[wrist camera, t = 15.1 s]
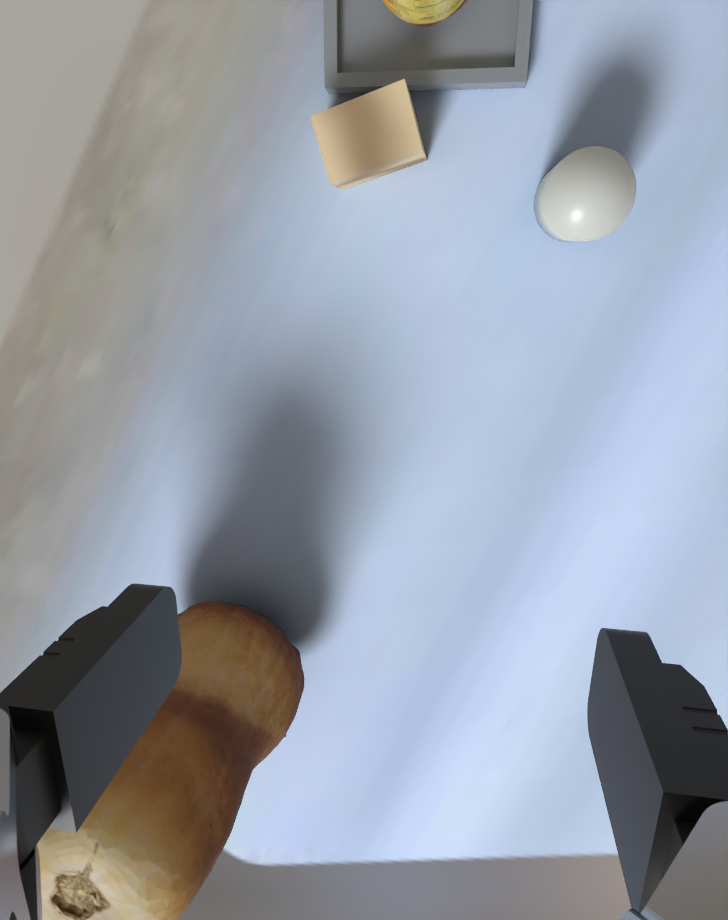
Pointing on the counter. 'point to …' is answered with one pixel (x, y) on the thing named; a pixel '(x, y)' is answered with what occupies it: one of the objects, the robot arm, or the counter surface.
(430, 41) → the tray
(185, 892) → the butternut squash
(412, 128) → the oak block
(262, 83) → the counter surface
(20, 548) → the counter surface
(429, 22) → the sauce bottle
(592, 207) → the white rounded cylinder
